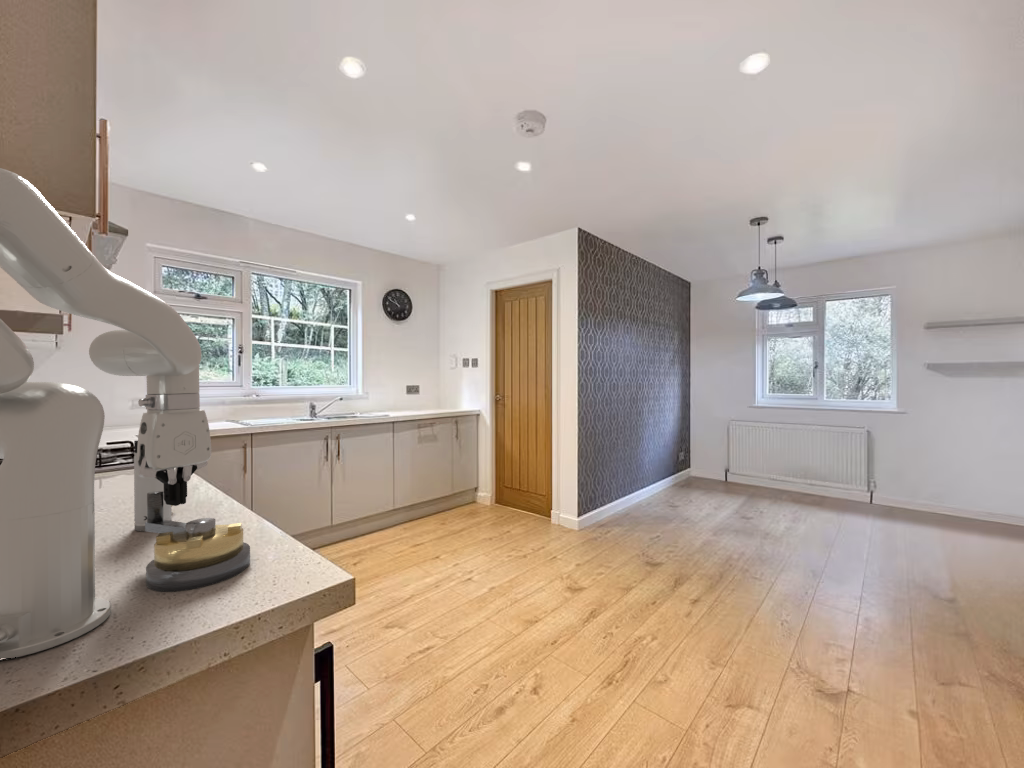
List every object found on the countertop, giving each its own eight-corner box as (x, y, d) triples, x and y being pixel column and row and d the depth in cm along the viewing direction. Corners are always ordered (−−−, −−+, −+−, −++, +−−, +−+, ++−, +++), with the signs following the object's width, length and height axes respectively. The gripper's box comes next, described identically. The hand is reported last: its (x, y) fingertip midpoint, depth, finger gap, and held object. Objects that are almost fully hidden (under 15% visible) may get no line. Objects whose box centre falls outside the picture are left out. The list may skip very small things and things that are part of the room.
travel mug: (151, 532, 90) (151, 438, 90) (126, 530, 91) (126, 437, 91) (180, 523, 96) (179, 434, 96) (156, 521, 97) (155, 433, 97)
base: (215, 590, 65) (215, 574, 65) (121, 592, 64) (121, 575, 64) (266, 553, 79) (266, 540, 79) (189, 554, 78) (189, 541, 78)
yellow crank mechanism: (259, 545, 75) (259, 491, 75) (190, 574, 64) (189, 511, 64) (186, 534, 81) (186, 484, 81) (110, 559, 69) (109, 501, 69)
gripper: (138, 407, 69) (140, 519, 69) (228, 401, 83) (230, 495, 83) (111, 405, 72) (113, 514, 72) (203, 401, 86) (204, 491, 86)
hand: (175, 503), depth 78 cm, fingers closed
